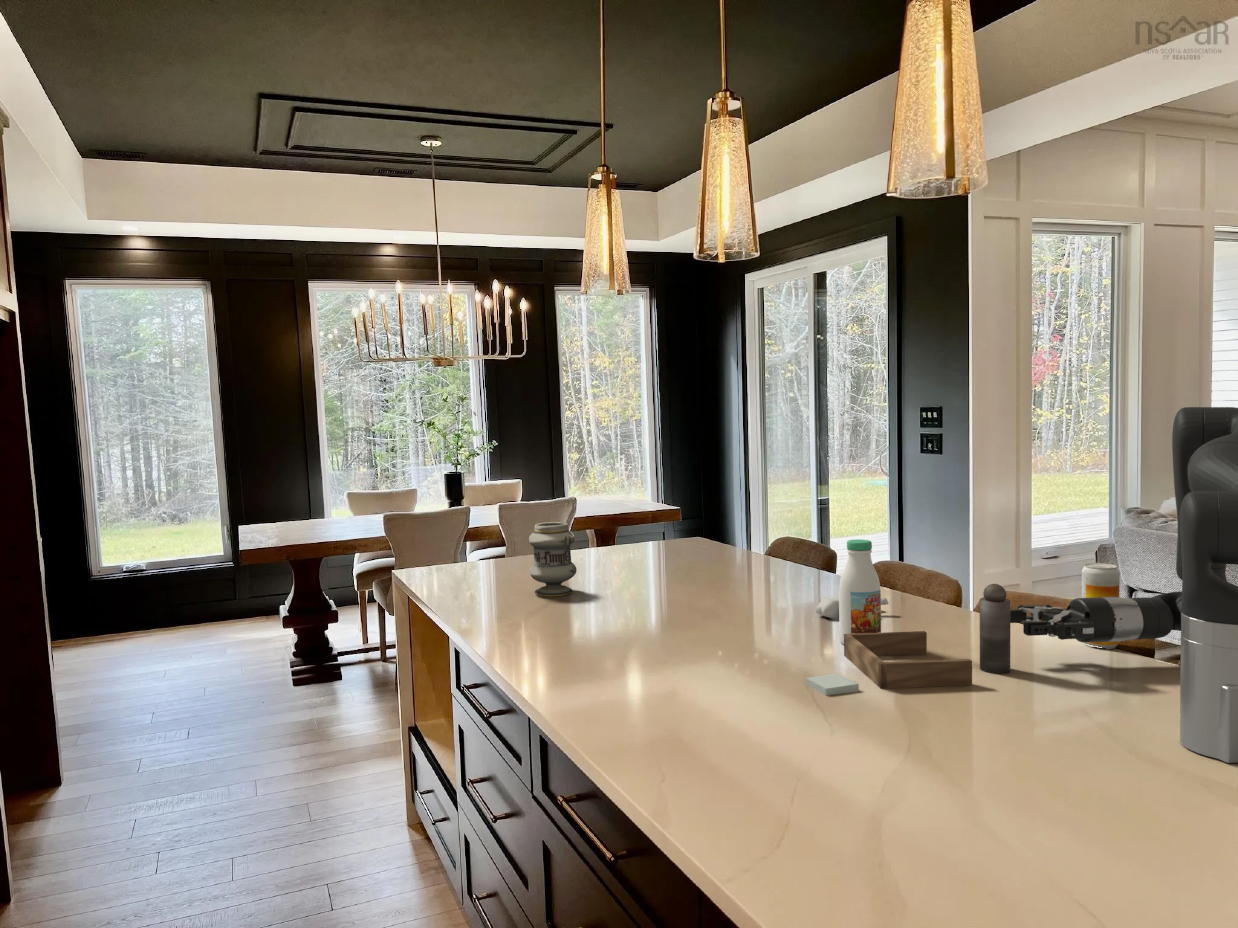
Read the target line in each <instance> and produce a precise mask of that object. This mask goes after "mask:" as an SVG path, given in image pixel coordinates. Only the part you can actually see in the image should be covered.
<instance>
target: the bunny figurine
mask: <svg viewBox="0 0 1238 928" xmlns="http://www.w3.org/2000/svg"><path fill="white" fill-rule="evenodd" d="M885 605H889V601H888V598H887V597H881V606H885ZM815 612H816V614H819V615H821V616H823V617H825V618H828V619H831V620H839V594H837V595H836V596H830V597H825V598H822V599H821V600H820V601H819V603H818V604H817V605H815Z"/></svg>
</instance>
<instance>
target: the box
mask: <svg viewBox="0 0 1238 928" xmlns="http://www.w3.org/2000/svg"><path fill="white" fill-rule="evenodd" d="M927 636H928V633H927V632H926V631H925V630H919V631H916V630H915V631H889V632H881V633H858V634H844V645H843V655H844V657H845V658H846V659H847V660H849V662H851V663H852V664H853V665H854V666H855V667H856V668H857V669H859V671H861V672H862V673H863V674H864V675H865V676H866V677H868V679H869V680H871V681H872V682H873V683H874V684H875V685H876V686H877V687H878V688H879V689H900V688H901V689H902V688H903V689H904V688H905V689H906V688H927V687H930V688H932V687H951V686H953V687H954V686H956V687H957V686H973V660H972V659H970V658H960V659H958V658H957V659H956V658H955V659H934V660H933V659H931V660H907V661H905V660H904V661H903V660H900V661H885V660H883V659H881V658H880V656H881V657H884V656H885V657H887V656H907V655H908V656H909V655H914V656H915V655H927V653H928V652H927V651H928V649H927V647H928V645H927V644H928V642H927V640H928V637H927Z"/></svg>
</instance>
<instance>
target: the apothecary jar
mask: <svg viewBox="0 0 1238 928" xmlns="http://www.w3.org/2000/svg"><path fill="white" fill-rule="evenodd" d="M575 537H576V536H575V534H574V533H573V532H572V531H571V530H570V529H569V527H568V522H564V521H551V522H549V521H546V522H541V523H539V522H538V523H536V524H534V530H533V532H532V533H531V534H530V535H529V537H528V542H529V543H528V544H530V545H531V546H532V547H533V564H532V566H531V567H530V569H529V575H530V577H532V579H533V580H535V581H536V582H539V583H542V584H545V585H544V586H540V587H539V588H537V589H536V590H534V593H535V596H539V597H562V596H567V595H570V594H572V593H574V591H573V588H571V587H568V585H564V584H563V583H565V582H567V581H568V580H571V579H572V578H574V576H575V575H576V574H577V570H578V569H577V567H576V564H575V563H574V562H572V555H571V552H572V551H571V545H572V544H573V543H574V542H575V540H576V539H575ZM562 584H563V585H562Z"/></svg>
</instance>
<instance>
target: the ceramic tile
mask: <svg viewBox="0 0 1238 928" xmlns="http://www.w3.org/2000/svg"><path fill="white" fill-rule="evenodd" d="M805 685H807V687H810V688H812V689H813V690H815V691H817V692H819V693H821V694H822V695H824V696H831V695H833V696H834V695H838V694H839V695H840V694H847V693H853V692H854V693H855V692H859V690H860V689H859V688H860V687H859V683H857V682H855V681H854V680H851V679H850V678H847V677H846V676H844V675H841V674H839V673H832V674H831V673H830V674H826V675H825V674H824V675H817V676H809V677H805Z"/></svg>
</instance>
